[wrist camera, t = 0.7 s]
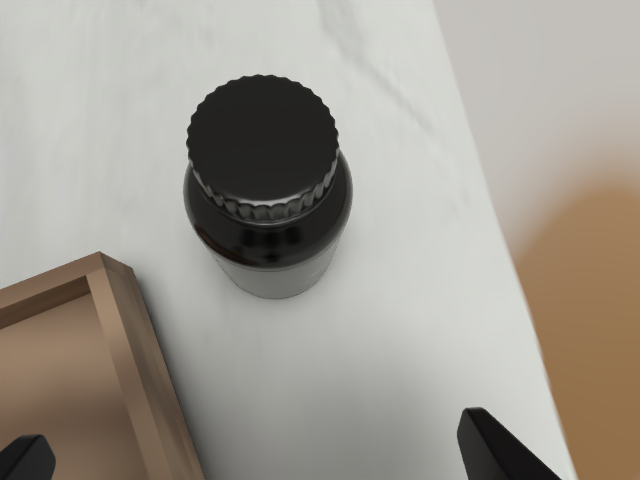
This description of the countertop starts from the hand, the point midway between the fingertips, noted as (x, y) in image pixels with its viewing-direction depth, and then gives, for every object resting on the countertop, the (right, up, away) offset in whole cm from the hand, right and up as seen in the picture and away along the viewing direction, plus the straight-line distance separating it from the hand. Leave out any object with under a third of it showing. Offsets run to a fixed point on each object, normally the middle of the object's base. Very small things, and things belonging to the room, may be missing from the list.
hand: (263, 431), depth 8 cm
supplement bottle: (-1, +4, +15) cm, 16 cm away
